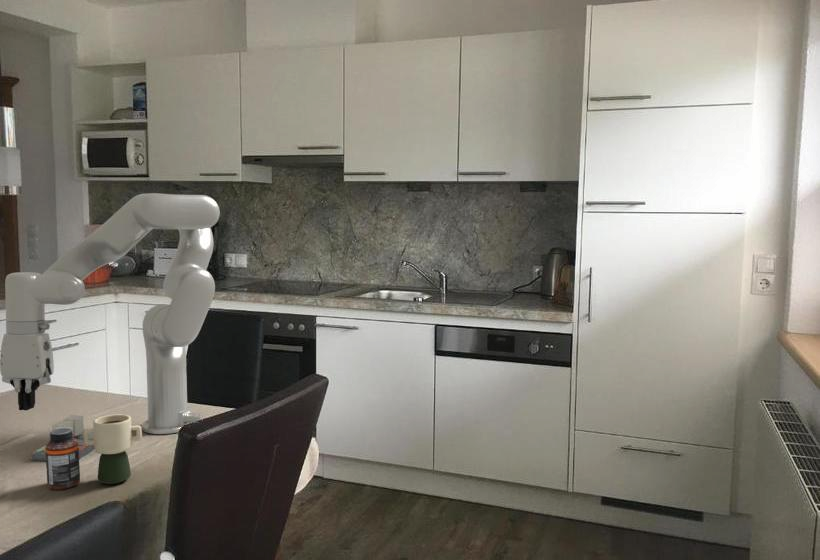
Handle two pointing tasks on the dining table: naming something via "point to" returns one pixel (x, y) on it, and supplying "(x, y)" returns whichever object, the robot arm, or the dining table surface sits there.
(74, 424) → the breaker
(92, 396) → the dining table surface
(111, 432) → the character mug
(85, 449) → the panel
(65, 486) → the supplement bottle
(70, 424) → the block
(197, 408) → the dining table surface
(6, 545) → the dining table surface
